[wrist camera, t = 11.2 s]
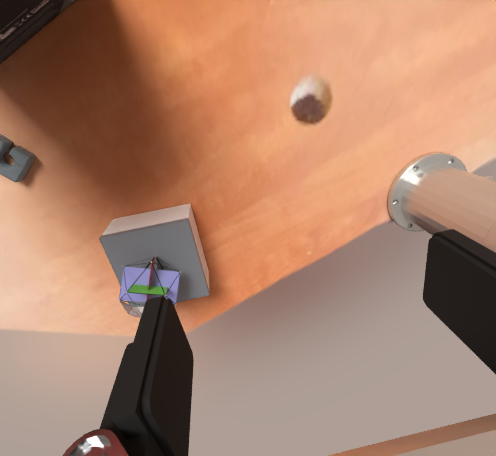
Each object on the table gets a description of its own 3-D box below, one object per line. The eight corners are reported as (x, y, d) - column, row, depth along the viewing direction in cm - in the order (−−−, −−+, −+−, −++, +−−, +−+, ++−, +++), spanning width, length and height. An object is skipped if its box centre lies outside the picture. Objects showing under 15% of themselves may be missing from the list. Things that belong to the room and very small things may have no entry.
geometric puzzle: (124, 240, 33) (106, 310, 30) (184, 247, 35) (175, 315, 31) (130, 262, 40) (117, 322, 36) (181, 267, 41) (173, 326, 37)
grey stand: (190, 203, 41) (188, 220, 36) (208, 271, 46) (209, 295, 41) (113, 218, 41) (99, 238, 35) (140, 286, 46) (132, 312, 41)
